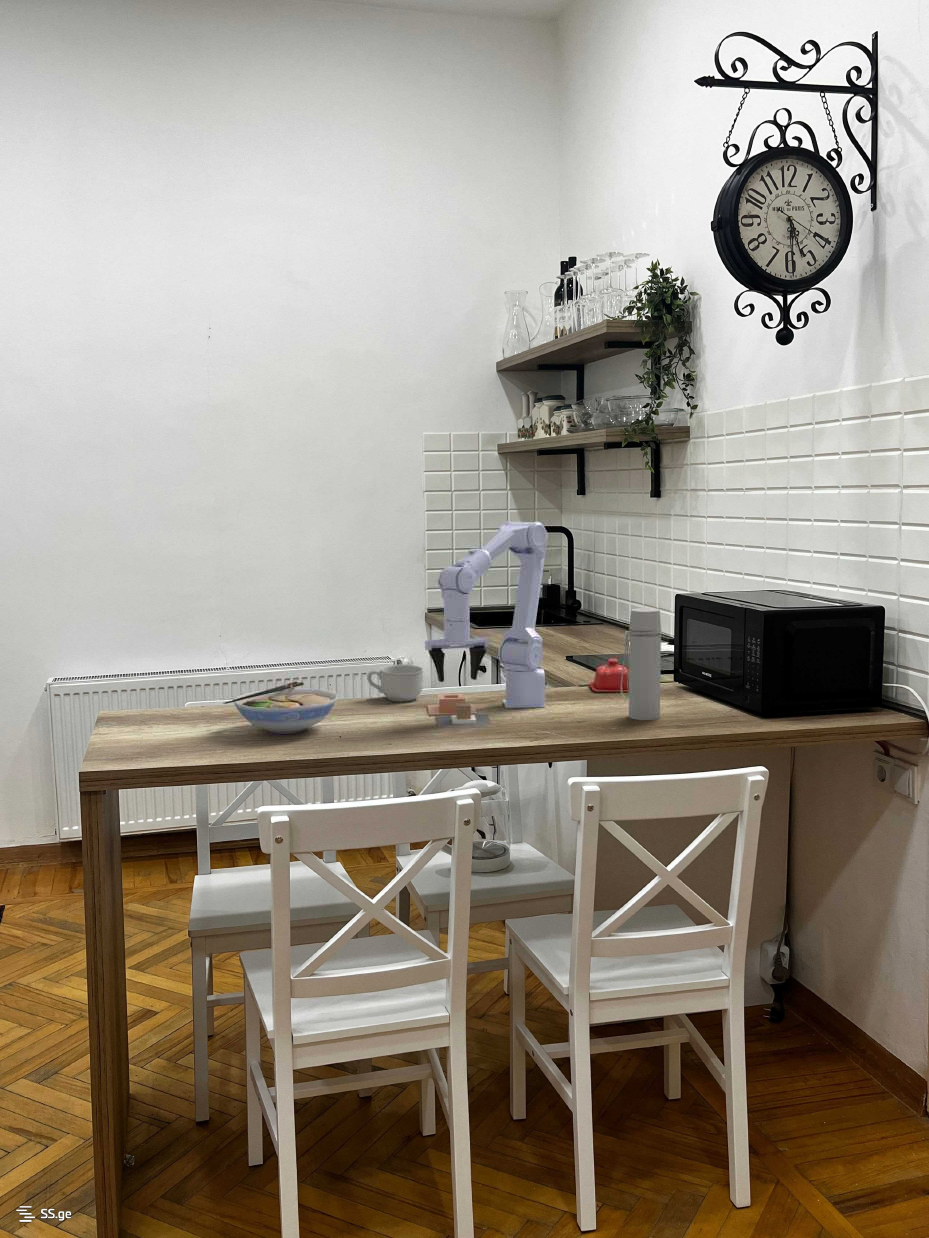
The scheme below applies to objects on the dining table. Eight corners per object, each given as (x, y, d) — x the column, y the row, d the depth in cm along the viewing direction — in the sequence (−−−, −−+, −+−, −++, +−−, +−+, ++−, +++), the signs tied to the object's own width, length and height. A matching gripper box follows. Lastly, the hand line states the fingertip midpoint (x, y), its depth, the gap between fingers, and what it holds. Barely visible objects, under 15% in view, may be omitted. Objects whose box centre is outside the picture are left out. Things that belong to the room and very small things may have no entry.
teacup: (426, 695, 273) (425, 664, 272) (420, 704, 262) (420, 671, 261) (372, 694, 274) (371, 664, 273) (364, 703, 264) (363, 671, 263)
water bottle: (664, 717, 244) (666, 608, 241) (655, 724, 237) (657, 612, 234) (625, 714, 248) (626, 607, 245) (615, 721, 241) (616, 610, 238)
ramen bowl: (288, 748, 218) (287, 709, 217) (207, 735, 230) (206, 698, 229) (363, 725, 239) (362, 689, 238) (285, 714, 251) (284, 680, 250)
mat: (487, 716, 247) (487, 714, 247) (492, 728, 235) (492, 726, 235) (435, 717, 246) (435, 716, 246) (438, 729, 234) (438, 727, 234)
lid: (474, 718, 243) (474, 701, 243) (476, 723, 238) (476, 706, 238) (451, 718, 243) (451, 702, 242) (452, 723, 238) (452, 707, 237)
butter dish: (638, 695, 272) (638, 662, 271) (593, 695, 272) (593, 662, 271) (631, 686, 283) (632, 655, 282) (588, 687, 283) (588, 655, 282)
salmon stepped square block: (472, 705, 259) (472, 691, 259) (476, 715, 248) (476, 700, 248) (427, 706, 258) (427, 692, 258) (429, 716, 248) (428, 701, 247)
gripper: (481, 616, 245) (482, 675, 247) (420, 619, 241) (421, 679, 242) (492, 620, 238) (492, 680, 240) (429, 623, 234) (430, 684, 236)
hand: (457, 680), depth 241 cm, fingers open, 7 cm apart
